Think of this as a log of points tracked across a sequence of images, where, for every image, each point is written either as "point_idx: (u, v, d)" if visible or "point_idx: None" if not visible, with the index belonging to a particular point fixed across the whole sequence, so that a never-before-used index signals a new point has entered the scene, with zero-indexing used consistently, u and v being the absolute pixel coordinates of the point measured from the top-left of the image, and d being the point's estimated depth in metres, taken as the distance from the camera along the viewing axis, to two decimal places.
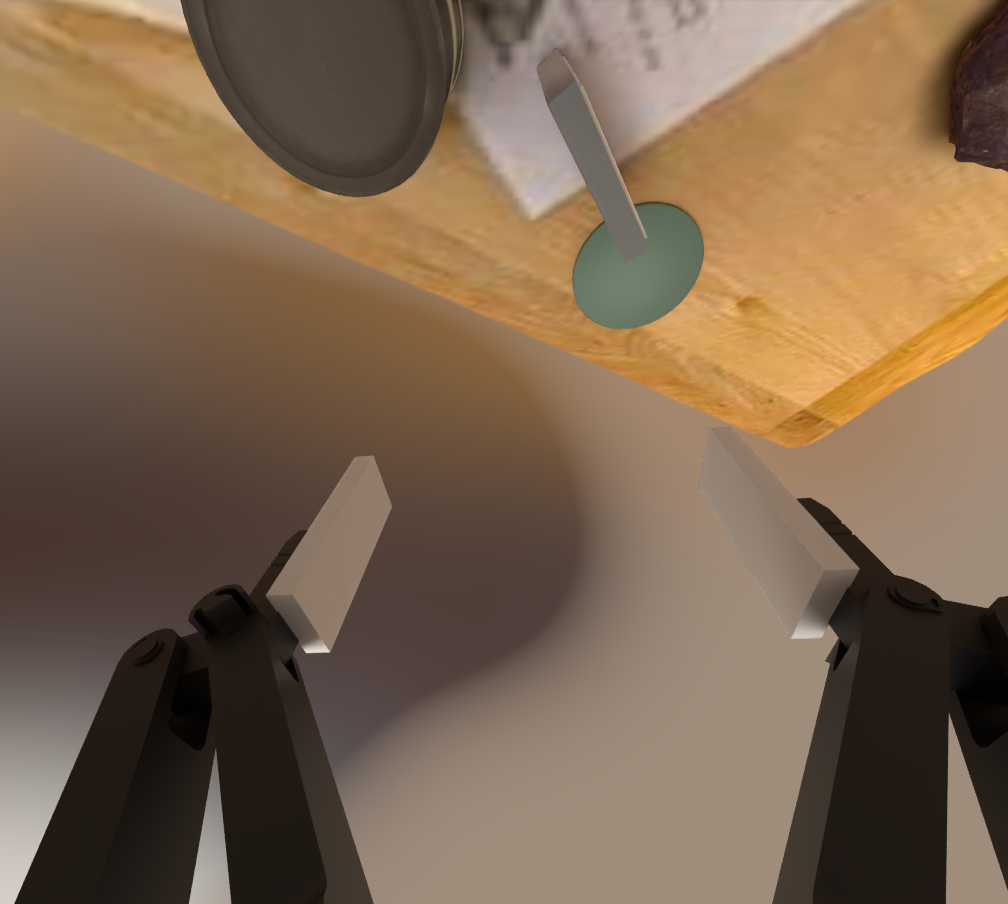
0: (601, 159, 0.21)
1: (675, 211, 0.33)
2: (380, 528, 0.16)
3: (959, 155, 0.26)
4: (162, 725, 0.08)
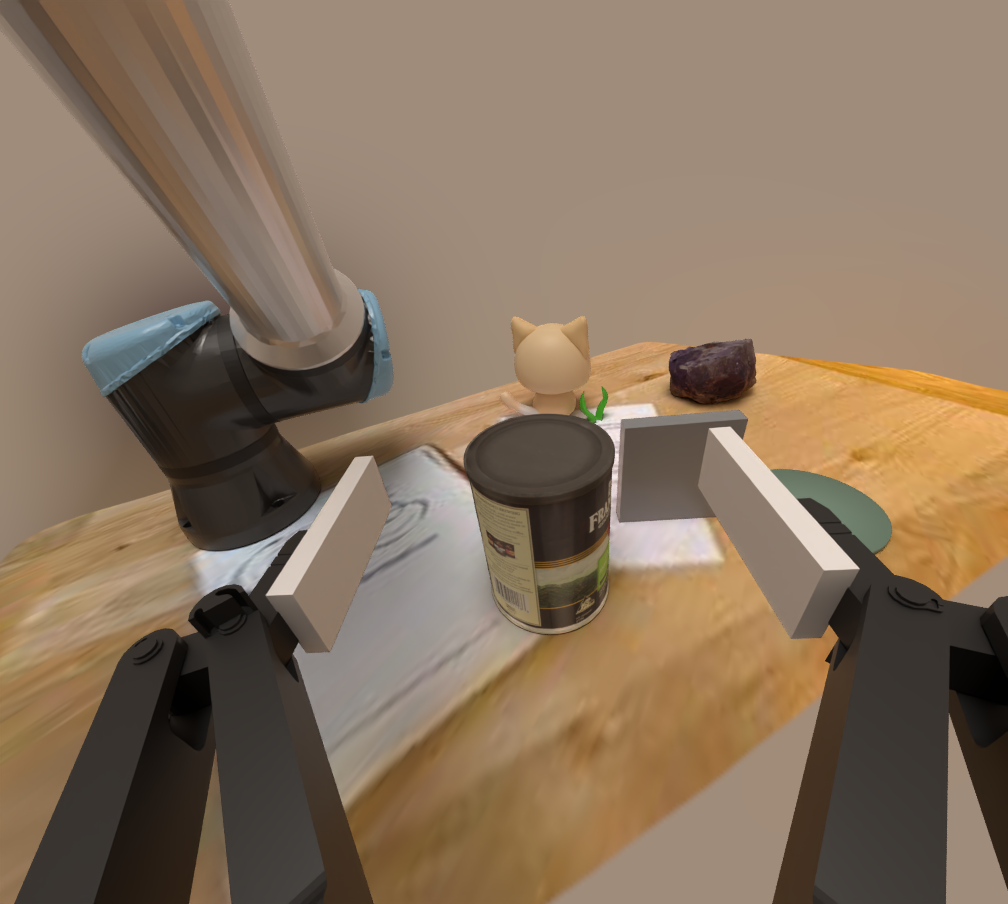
0: (665, 418, 0.34)
1: None
2: (380, 528, 0.16)
3: (741, 376, 0.52)
4: (162, 725, 0.08)
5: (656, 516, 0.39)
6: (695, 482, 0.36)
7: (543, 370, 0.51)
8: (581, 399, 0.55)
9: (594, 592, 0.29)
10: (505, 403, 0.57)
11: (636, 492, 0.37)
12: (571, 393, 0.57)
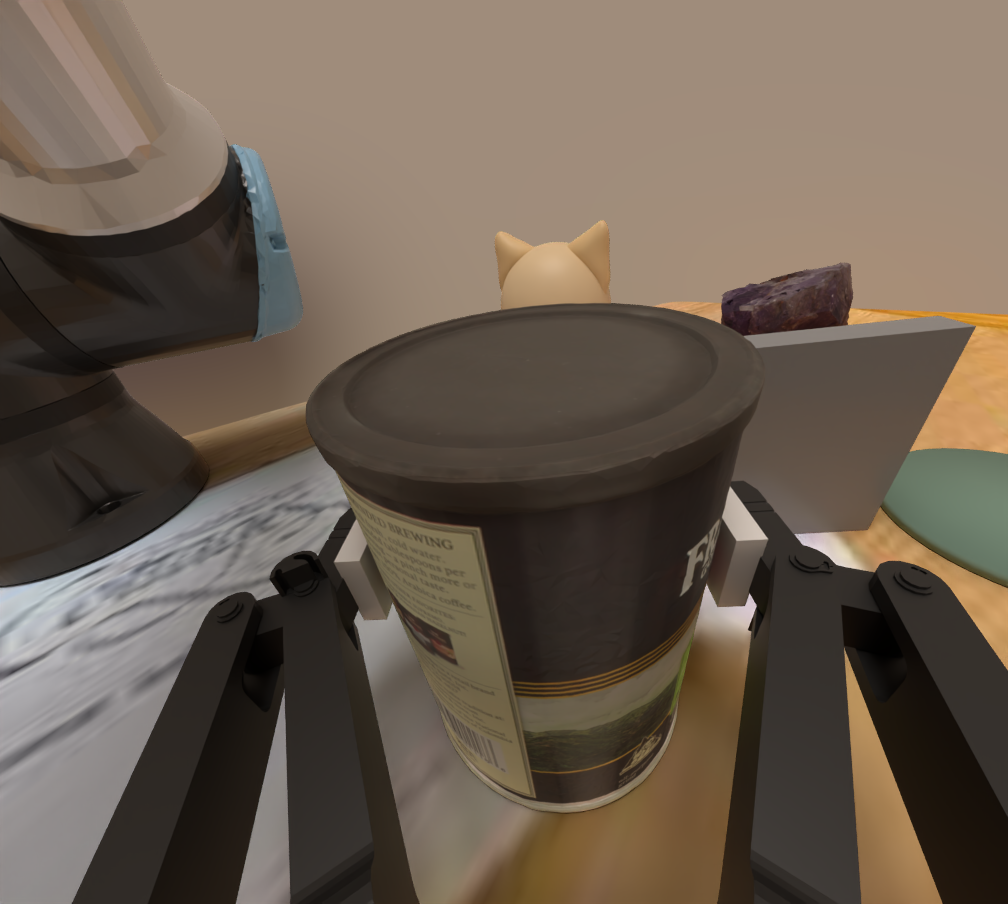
0: (787, 334, 0.17)
1: None
2: None
3: (836, 316, 0.35)
4: (236, 685, 0.09)
5: None
6: (831, 466, 0.19)
7: None
8: None
9: (663, 722, 0.12)
10: None
11: None
12: None
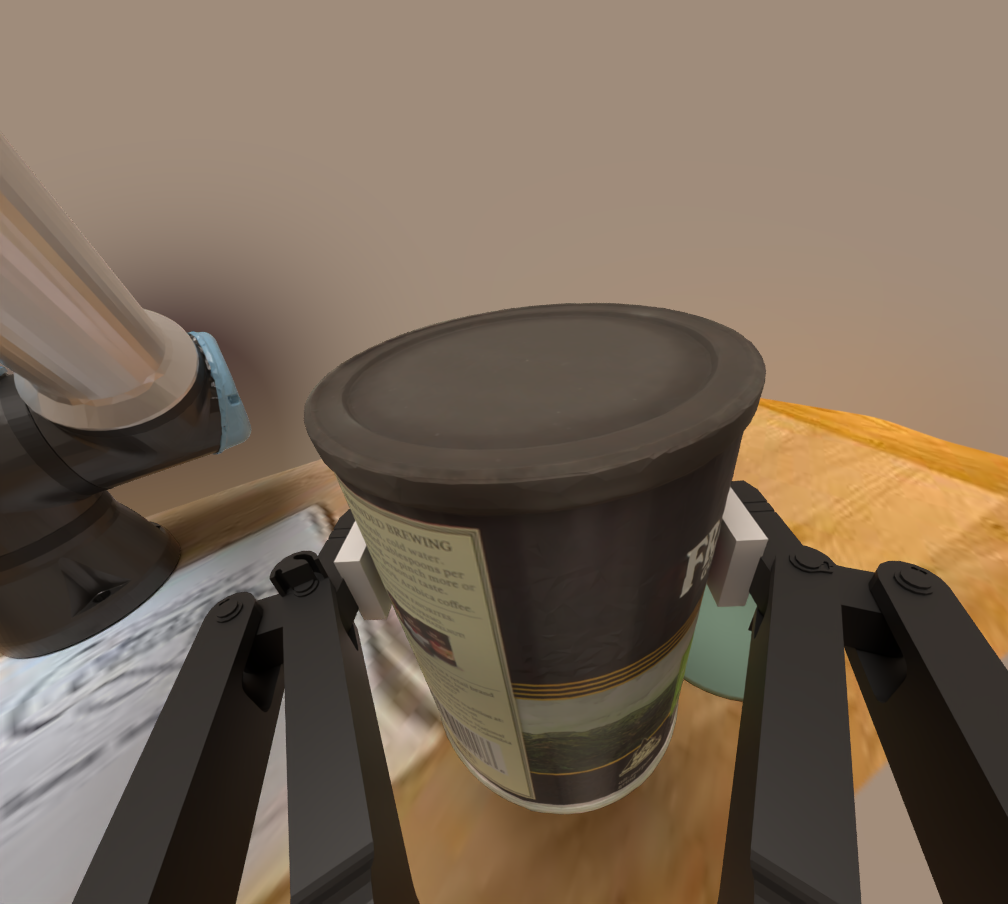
0: None
1: None
2: None
3: None
4: (236, 684, 0.09)
5: None
6: None
7: None
8: None
9: (663, 723, 0.12)
10: None
11: None
12: None
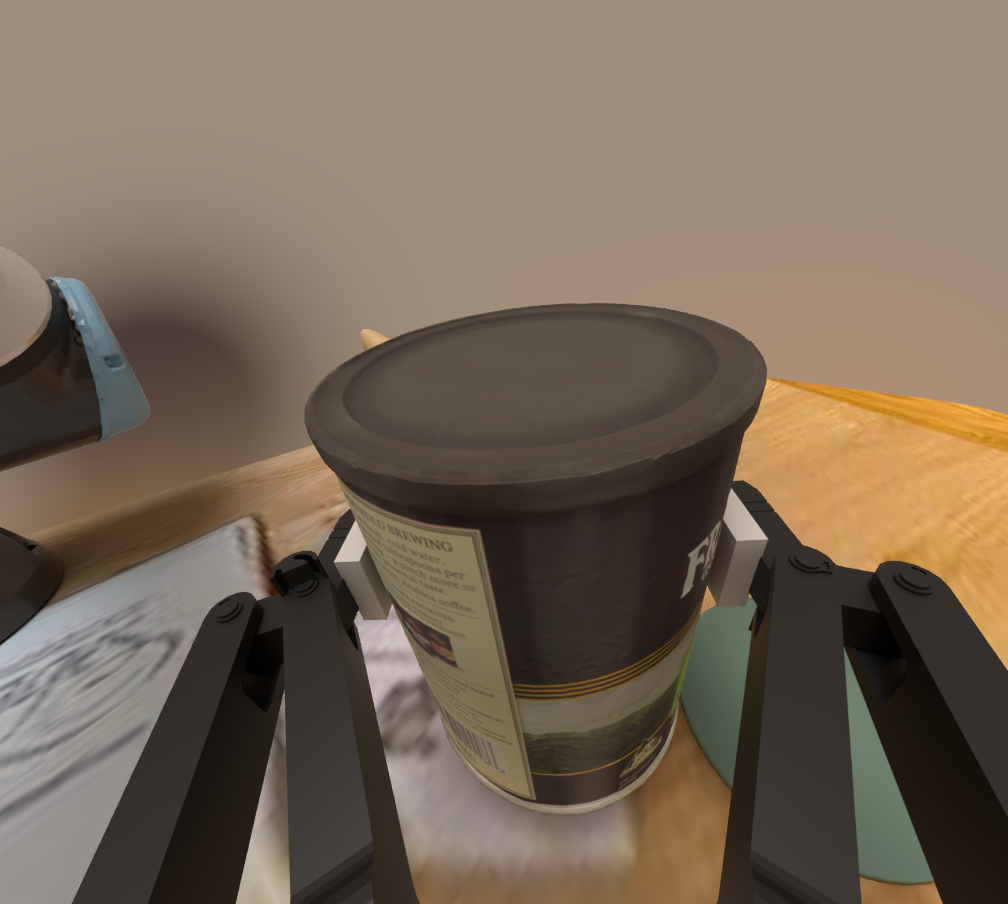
0: None
1: (703, 617, 0.23)
2: None
3: None
4: (236, 685, 0.09)
5: None
6: None
7: None
8: None
9: (663, 724, 0.12)
10: None
11: None
12: None
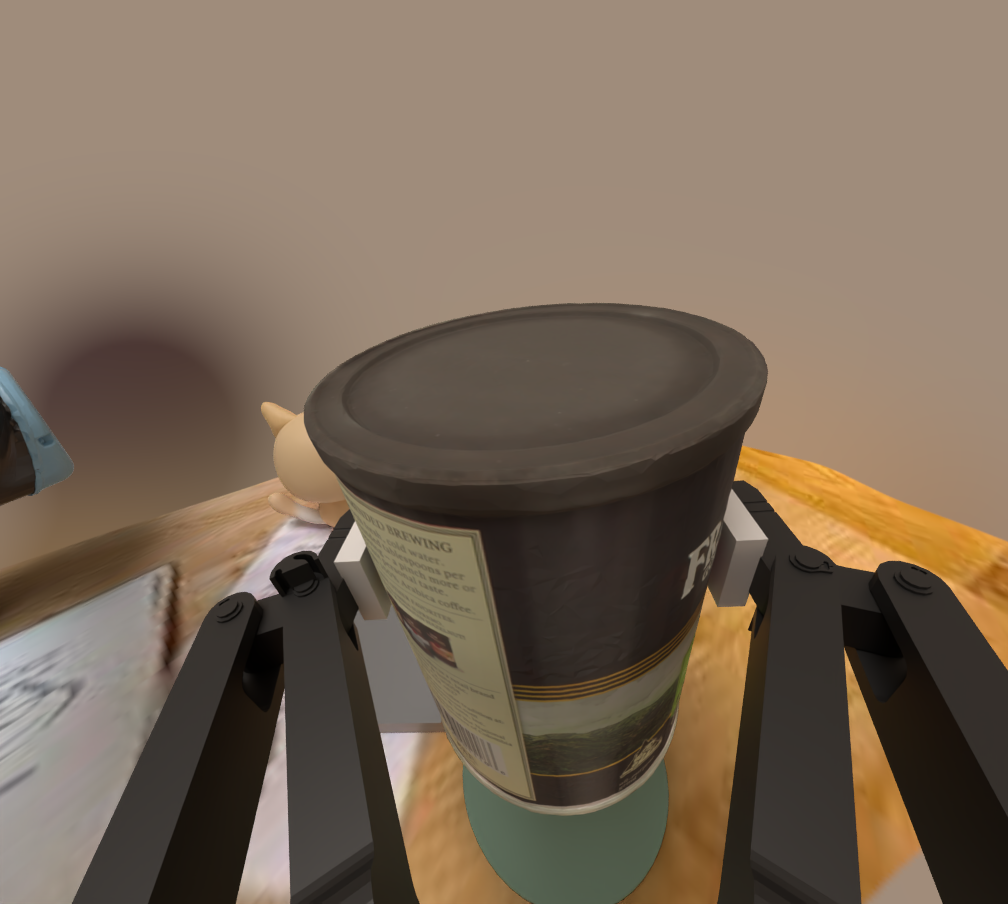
0: None
1: None
2: None
3: None
4: (236, 684, 0.09)
5: None
6: (409, 655, 0.29)
7: (293, 479, 0.38)
8: None
9: (664, 725, 0.12)
10: (274, 509, 0.43)
11: None
12: None
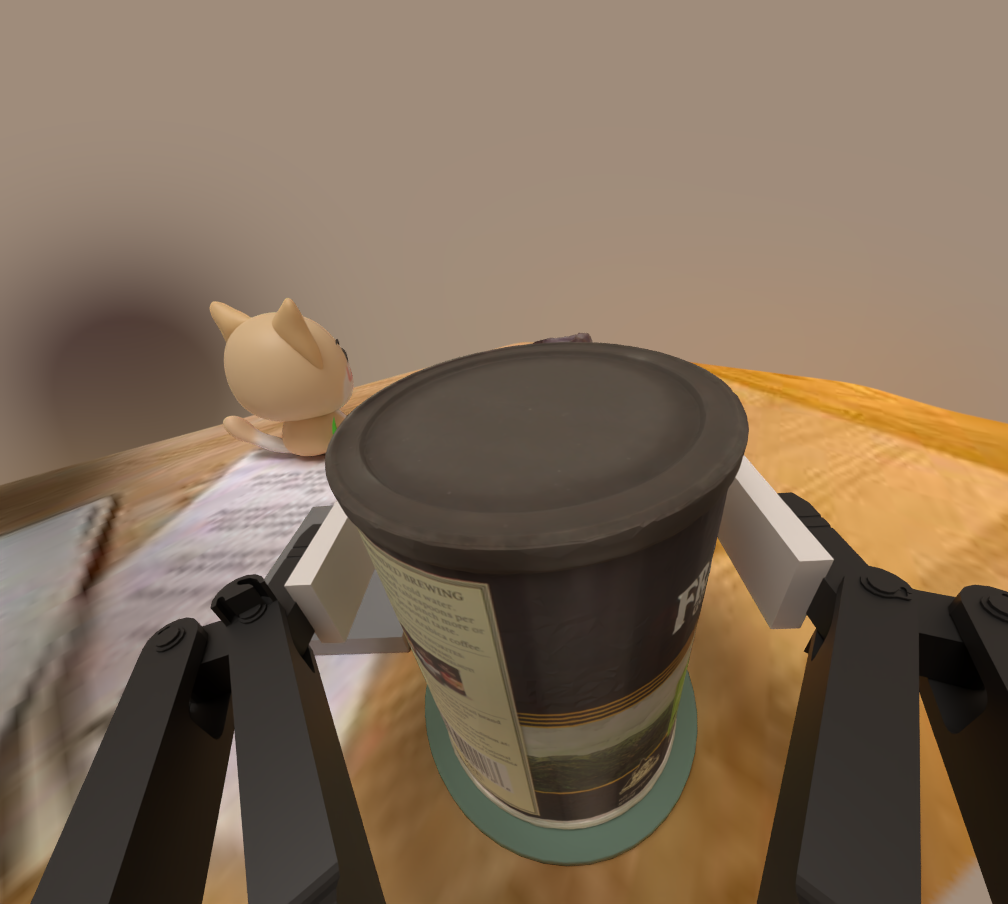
0: None
1: None
2: None
3: None
4: (182, 713, 0.08)
5: None
6: None
7: (244, 386, 0.32)
8: (332, 429, 0.36)
9: (661, 744, 0.13)
10: (230, 433, 0.38)
11: None
12: (332, 418, 0.38)
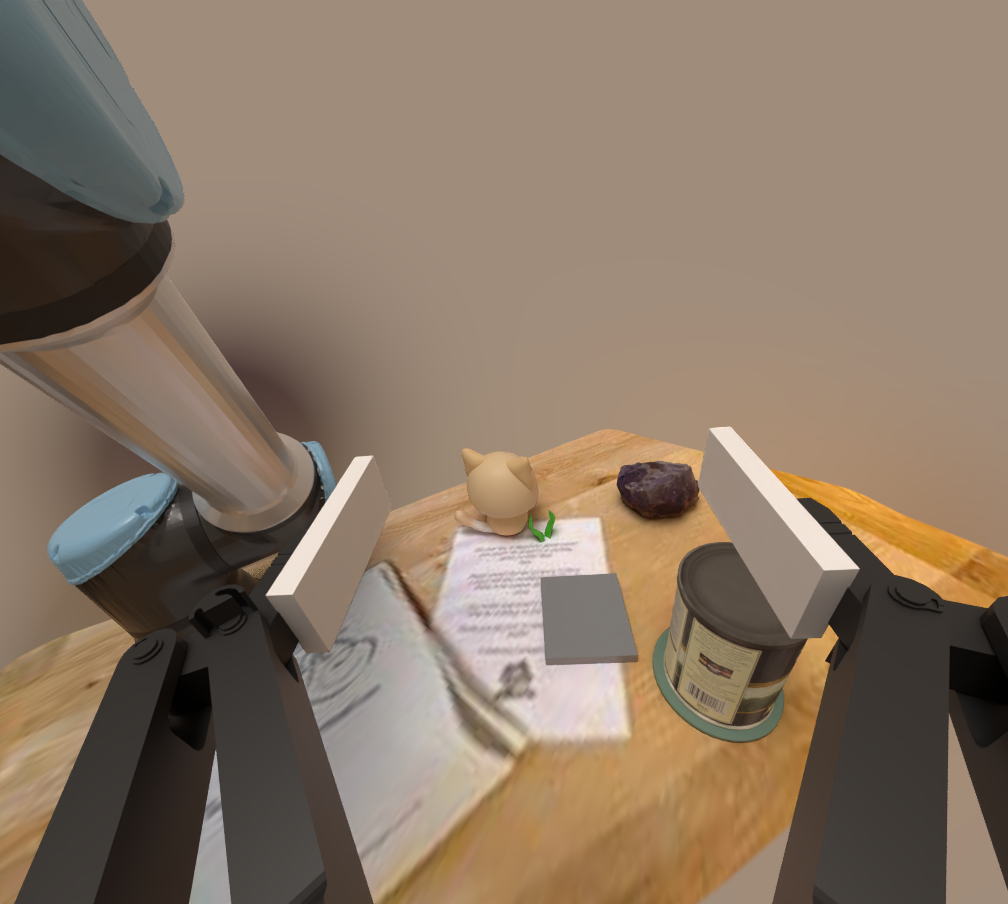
0: None
1: (667, 631, 0.45)
2: (380, 528, 0.16)
3: (678, 502, 0.56)
4: (162, 725, 0.08)
5: (577, 652, 0.43)
6: (599, 618, 0.46)
7: (490, 502, 0.55)
8: (529, 522, 0.58)
9: (777, 697, 0.35)
10: (459, 522, 0.60)
11: (555, 626, 0.46)
12: None
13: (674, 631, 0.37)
